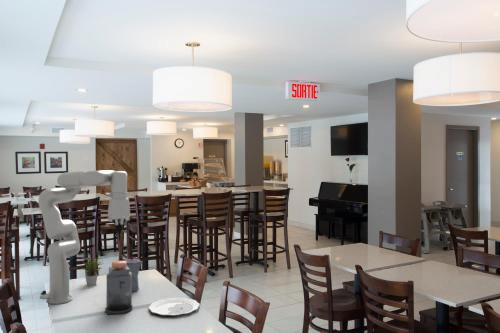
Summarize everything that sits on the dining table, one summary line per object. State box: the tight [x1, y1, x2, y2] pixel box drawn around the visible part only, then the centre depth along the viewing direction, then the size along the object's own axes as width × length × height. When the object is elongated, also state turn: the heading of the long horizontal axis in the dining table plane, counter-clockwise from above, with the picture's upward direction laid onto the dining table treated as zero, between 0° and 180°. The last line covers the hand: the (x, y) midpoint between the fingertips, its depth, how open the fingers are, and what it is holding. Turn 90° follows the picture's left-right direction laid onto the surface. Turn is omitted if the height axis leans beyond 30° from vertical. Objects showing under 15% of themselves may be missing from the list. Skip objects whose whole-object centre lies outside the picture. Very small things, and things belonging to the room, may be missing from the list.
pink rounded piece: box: [111, 260, 127, 269], centre depth 208 cm, size 7×7×6 cm
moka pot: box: [118, 255, 143, 294], centre depth 240 cm, size 10×15×20 cm, turn 78°
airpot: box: [105, 266, 134, 316], centre depth 208 cm, size 13×19×21 cm
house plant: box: [81, 257, 103, 287], centre depth 249 cm, size 14×14×16 cm
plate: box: [148, 297, 201, 317], centre depth 211 cm, size 25×25×2 cm
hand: (118, 232), depth 208 cm, fingers closed
